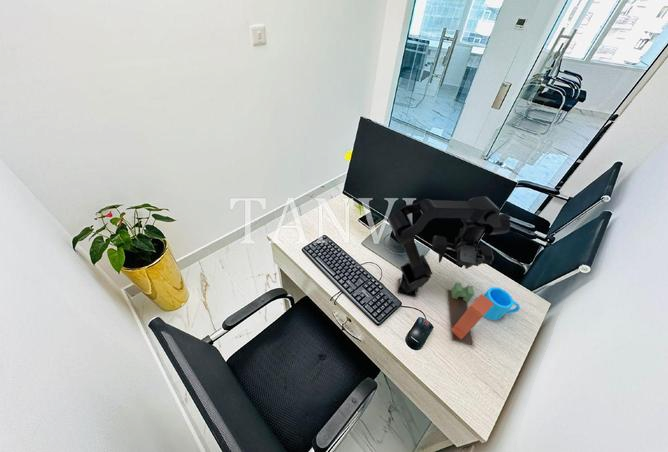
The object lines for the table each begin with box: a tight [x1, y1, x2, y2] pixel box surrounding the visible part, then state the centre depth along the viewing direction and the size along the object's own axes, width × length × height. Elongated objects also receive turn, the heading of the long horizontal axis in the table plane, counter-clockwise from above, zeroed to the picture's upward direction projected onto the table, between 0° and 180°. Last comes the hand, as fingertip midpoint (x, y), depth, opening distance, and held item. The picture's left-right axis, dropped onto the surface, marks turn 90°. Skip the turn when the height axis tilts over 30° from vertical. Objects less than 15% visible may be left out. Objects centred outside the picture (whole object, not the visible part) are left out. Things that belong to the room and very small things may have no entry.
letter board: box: [447, 289, 473, 346], centre depth 89 cm, size 6×20×1 cm, turn 165°
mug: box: [483, 286, 521, 321], centre depth 89 cm, size 12×8×8 cm
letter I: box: [450, 293, 494, 340], centre depth 79 cm, size 4×6×16 cm, turn 127°
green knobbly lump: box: [450, 282, 475, 302], centre depth 93 cm, size 4×6×5 cm, turn 76°
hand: (452, 264), depth 91 cm, fingers open, 9 cm apart
